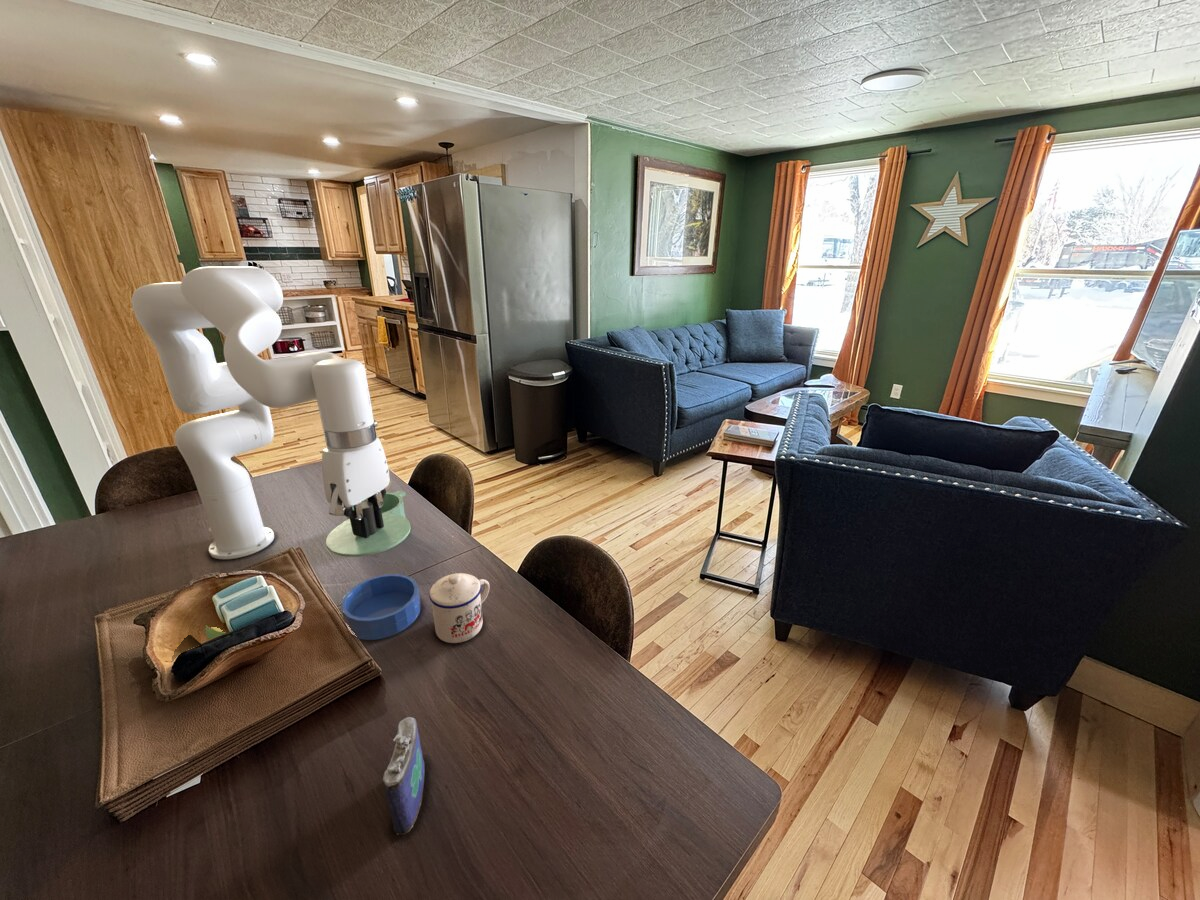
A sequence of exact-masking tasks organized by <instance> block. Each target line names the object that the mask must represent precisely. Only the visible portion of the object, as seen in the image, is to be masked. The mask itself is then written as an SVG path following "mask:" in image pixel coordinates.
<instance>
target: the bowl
mask: <svg viewBox="0 0 1200 900" xmlns="http://www.w3.org/2000/svg"><path fill="white" fill-rule="evenodd" d="M340 607H341V612H342V617H343V621H344V620H345V621H344V623H345V622H346V623H347V624H348V625H349V627H350V628H351V630H352V631H353V632H354V633H355V635H356V636H357V638H356V639H358V640H359V639H360V640H364V641H375V640H382V639H386V638H390V637H393V636H395V635H397V634H399V633H400V632H402V631H404V630H406V629H407V628H409V627H410V626H411V625H412V624H413V623H414V622H415V621H416V620H417V618H418V616H419V615H420V613H421V609H422V608H421V607H422V605H421V596H420V589H419V586H418V583H417V582H416V580H414V578H412V577H410V576H409V575H405V574H400V573H387V574H380V575H376V576H373V577H370V578H367V579H365V580H363V581H361V582H359V583H357V584H356V585H354V586H353V587H352V588H350V589H349V590H348V591H347V593H346V594H345V595H344V596H343V598H342V601H341V603H340Z"/></svg>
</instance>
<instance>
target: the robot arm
mask: <svg viewBox="0 0 1200 900" xmlns="http://www.w3.org/2000/svg"><path fill="white" fill-rule="evenodd" d="M283 304H284V292H283V289H282V287H281V284H280V283H279V282H278V280H277V279H276V277H274V275H273V274H271V273H269V271H267V270H265V269H264V268H260V267H258V266H201V267H197V268H194V269H192V270H189V271H188V272H187V273H186V274H185V275H183V277H182V279H181V281H171V282H169V281H167V282H156V283H149V284H145V285H141V286H139V287H138V288H136V289H135V290H134V291H133V293H132V295H131V307H132V310H133V314H134V316H135V319H136V320H137V322H138V323H139V326H140V327H141V328H142V330H143V331H144V332H145V334H146V336H148V338H149V339H150V341H151V342H152V344H153V345H154V347H155V349H156V351H157V354H158V357H159V360H160V361H159V362H160V364H161V367H162V371H163V375H164V377H165V381H166V384H167V387H168V390H169V393H170V396H171V399H172V401H173V403H174V405H175V407H176V408H177V409H178V410H179V411H181V412H182V413H184V414H187V415H201V414H206V413H207V414H208V413H211V412H216V411H220V410H225V409H230V408H234V407H237V409H236V410H231V411H227V412H222V413H217V414H213V415H208V416H204V417H200V418H199V417H198V418H195V419H193V420H189V421H187V422H185V423H183V424H181V425H180V426H178V428H177V429H176V430H175V431H174V436H173V438H174V443H175V445H176V447H177V449H178V451H179V453H180V454H181V456H182V458H183V459H184V461H185V463H186V466H187V467H188V469H189V471H190V473H191V476H192V478H193V481H194V484H195V486H196V489H197V493H198V495H199V498H200V502H201V505H202V508H203V510H204V513H205V517H206V520H207V522H208V525H209V528H208V529H207V532H208V533H211V535H212V537H213V541H212V542H211V543H210V544H209V546H208V553H209V555H210V557H212V558H214V559H217V560H234V559H235V560H236V559H239V558H244V557H247V556H251V555H253V554H255V553H258V552H260V551H262V550H263V549H265V548H267V547H268V546H270V545H271V543H272V542H273V541H274V539H275V533H274V530H272V529H271V528H270V527H266V526H265V525H264V523H263V519H262V515H261V512H260V508H259V506H258V501H257V497H256V495H255V491H254V487H253V483H252V480H251V477H250V474H249V472H248V470H247V469H246V468H245V467H244V466H242V465H241V464H239V463H236V462H235V461H233V460H232V458H233V457H235V456H238V455H241V454H244V453H247V452H250V451H254V450H258V449H260V448H263V447H266V446H268V445H270V444H271V443H272V441H273V440H274V437H275V429H274V423H273V420H272V419H273V418H272V413H271V408H272V409H282V408H283V409H284V408H288V407H293V406H296V405H300V404H304V403H309V402H312V401H316V402H317V407H318V412H319V416H320V422H321V426H322V431H323V436H324V440H325V445H326V446H325V447H324V448H322V453H321V473H322V482H323V489H324V494H325V498H326V501H327V503H328V504H329V509H328V514H329V515H330V516H335V517H346V518H347V517H349V518H350V522H351V527H352V532H353V534H354V535H356V536H359V537H363V538H368V537H369V535H370V534H369V528H368V523H367V518H366V517H363V512H362V504H361V502H362V501H364V500H365V499H366V502H371V503H372V504H373V509H374V515H375V521H376V526H377V528H379V529H381V528H383V527H384V523H383V518H382V512H381V507H382V506H383V498H384V496H385V494H386V492H388V491H389V490H390V488H391V486H392V485H393V481H392V480H391V478H390V470H389V466H388V465H389V464H388V460H387V457H386V452H385V450H384V447H383V444H382V441H381V440H380V437H379V436H377V432H376V431H377V430H376V427H378V422H377V421H376V420H375V419H374V412H373V408H372V407H373V406H372V402H371V395H370V389H369V384H368V378H367V371H366V368H365V365H364V364H363V363H362V362H361V361H359V360H358V359H353V358H343V357H341V356H339V355H338V354H335V353H333V352H330V351H316V352H310V353H309V352H308V353H302V354H296V355H289V356H282V357H275V358H271V359H263V358H261V357H260V356H258V355H260V354H261V353H263V352H264V351H266V350H267V349H269V348H270V347H271V346H272V345H274V344H275V343H276V342H277V340H278V339H279V338H280V336H281V333H282V329H283V323H282V319H281V317H280V316H279V314H278V313H277V312H278V311H280V309H281V308H282V306H283ZM212 328H215V329H217V330H218V331H219V332H220V333H221V334H222V335H223V336H224V337H225V340H224V344H223V357H224V361H223V362H217V360H216V356H215V352H214V347H213V345H212V343H211V341H209V339H208V338H207V337H206V336H205V335H204V334H203V333H201V332H200V331H199V330H198V329H200V330H201V329H212ZM352 506H354V510H353V508H352Z"/></svg>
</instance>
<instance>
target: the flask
mask: <svg viewBox="0 0 1200 900" xmlns="http://www.w3.org/2000/svg"><path fill="white" fill-rule="evenodd" d="M418 729H419V728H418V722H417V720H416V718H414V717H412V716H407V717H405V718H403V719H402V720H400V721H399V722H398V724H397V726H396V735H395V736H394V738H393V739H392V741H393V742H395V743H394V747H393V752H392V755H391V758H390V761H389V764H387V767H386V769H385V770H384V774H383V775H382V787H383V791H384V795H385V797H386V801H387V806H388V809H389V813H390V815H391V816H390V817H391V821H392V825H393V830H394V832H395V833H396V836H398V835H406V834H408V833H409V832H410V831H411V829H413V828H414V825H415V822H416V821H417V818H418V815H419V812H420V809H421V805H422V803H423V802H422V801H423V797H424V787H425V786H424V785H425V779H426V778H425V777H426V774H425V773H426V770H425V768H426V767H425V761H424V757H423V751H422V745H421V740H420V734H419V730H418Z"/></svg>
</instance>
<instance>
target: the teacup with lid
mask: <svg viewBox="0 0 1200 900" xmlns="http://www.w3.org/2000/svg"><path fill="white" fill-rule="evenodd" d="M482 586H483V591H482ZM490 587H491V586H490V582H489V581H488V580H487V579H483V578H481V579H478V578H477V577H476V576H474V575H472V574H470V573H464V572H459V573H458V572H457V573H456V572H455V573H452V574H448V575H445V576H443V577H440V578H439V579H438V580H437V581H435V582H434V584H433V585H432V586H431V587H430V591H429V595H428V596H429V601H430V602H431V610H432V616H433V623H434V631H435V634H436V636H437V637H438V639H440V640H441V641H442V642H445V643H449V644H459V643H463V642H466V641H469V640H471V639H473V638H475V636H476V635H478V634H479V632H480V631H481V629H482V627H483V623H484V622H483V621H484V620H483V609H482V608H483V607H482V604H483V603H484V602H485V600H486V599H487V597H488V595H489V593H490ZM481 591H482V592H481Z"/></svg>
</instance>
